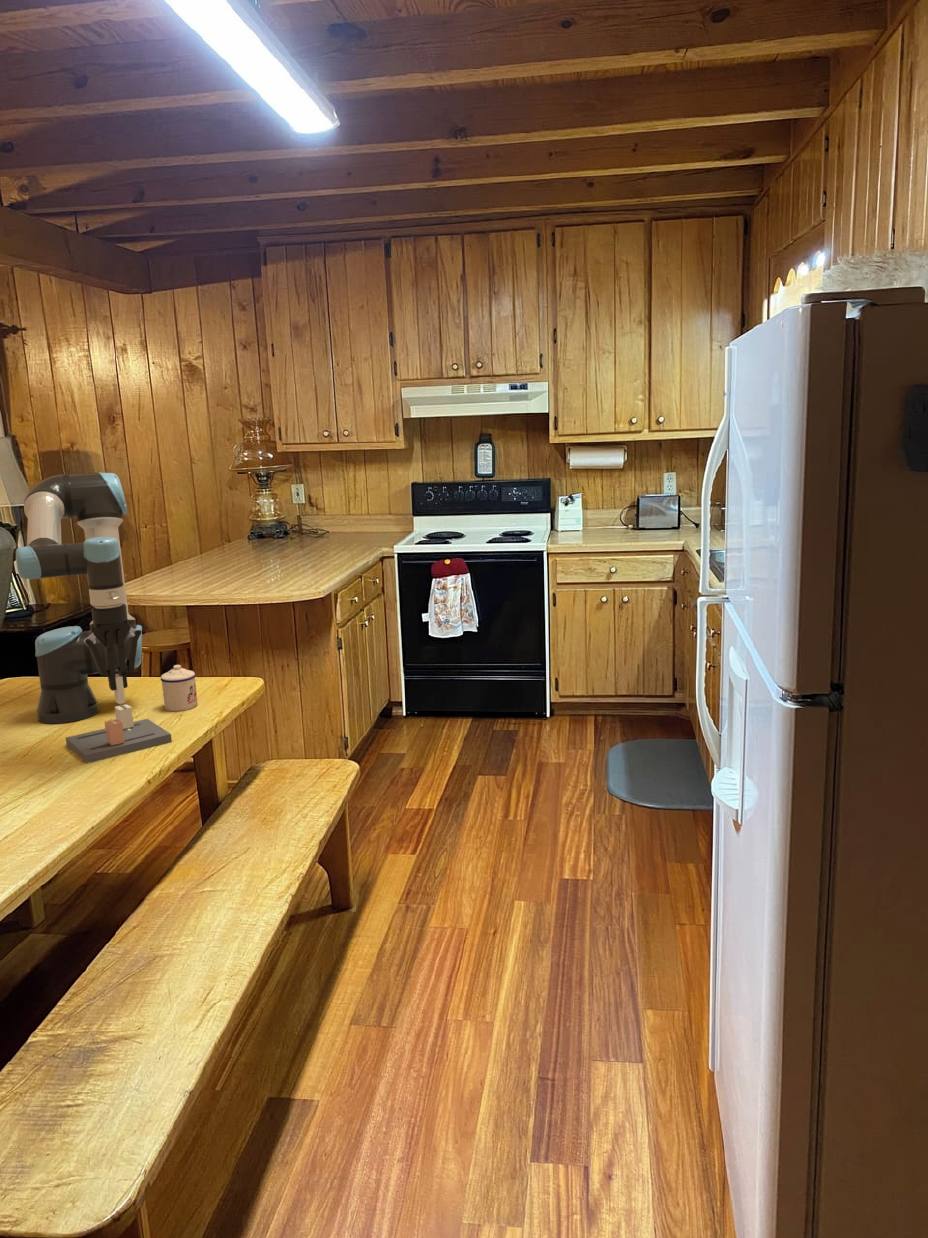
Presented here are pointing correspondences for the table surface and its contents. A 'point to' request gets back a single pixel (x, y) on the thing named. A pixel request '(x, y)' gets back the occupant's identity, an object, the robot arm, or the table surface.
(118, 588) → the robot arm
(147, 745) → the mixer board
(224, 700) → the table surface
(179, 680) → the teacup with lid
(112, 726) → the fader
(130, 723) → the fader
